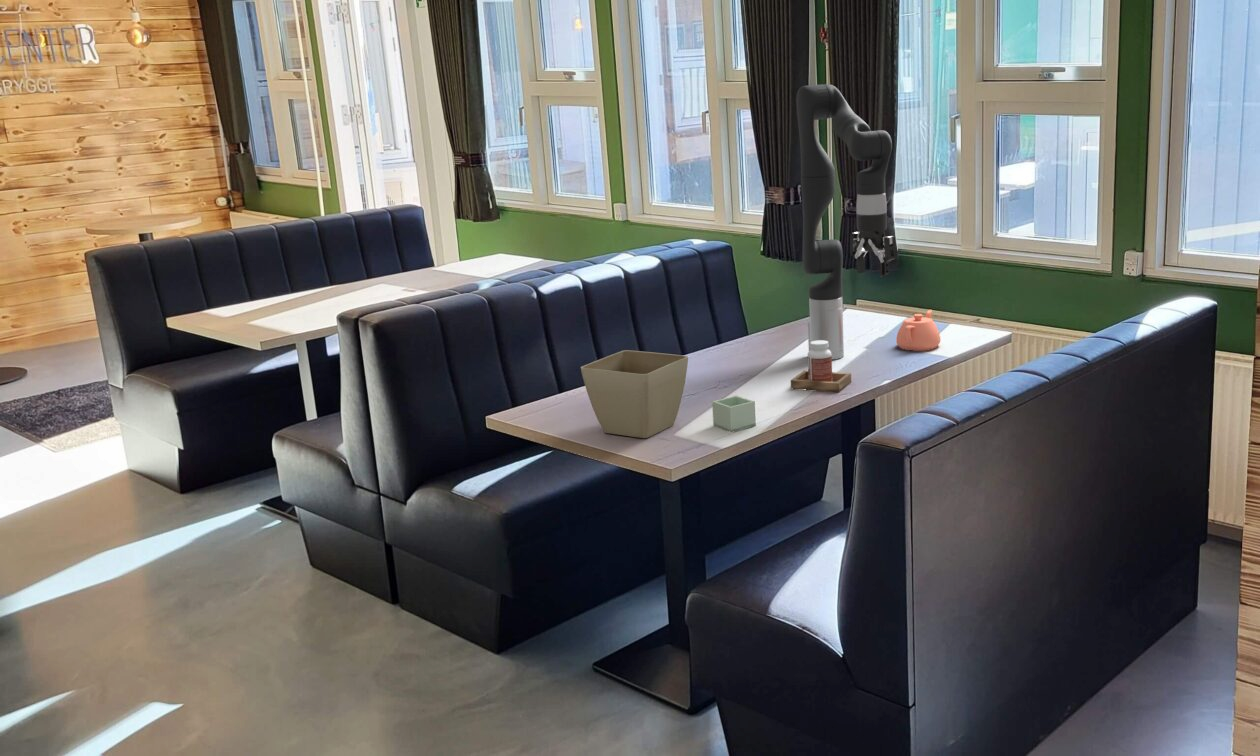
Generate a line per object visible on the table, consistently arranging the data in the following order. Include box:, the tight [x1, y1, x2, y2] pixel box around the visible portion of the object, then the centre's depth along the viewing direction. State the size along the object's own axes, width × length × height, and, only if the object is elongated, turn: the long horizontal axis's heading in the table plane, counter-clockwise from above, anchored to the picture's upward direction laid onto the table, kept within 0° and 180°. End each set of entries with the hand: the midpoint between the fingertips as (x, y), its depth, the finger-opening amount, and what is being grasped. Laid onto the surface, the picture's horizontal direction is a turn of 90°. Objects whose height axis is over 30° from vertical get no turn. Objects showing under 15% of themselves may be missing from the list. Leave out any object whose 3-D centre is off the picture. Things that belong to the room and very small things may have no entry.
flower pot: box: [580, 349, 689, 439], centre depth 292 cm, size 19×19×17 cm
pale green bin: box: [711, 395, 757, 433], centre depth 291 cm, size 7×7×6 cm
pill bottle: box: [807, 340, 833, 382], centre depth 318 cm, size 6×6×11 cm
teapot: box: [895, 309, 941, 352], centre depth 352 cm, size 12×18×10 cm
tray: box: [790, 369, 852, 393], centre depth 320 cm, size 13×10×2 cm
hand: (872, 274), depth 314 cm, fingers open, 8 cm apart
